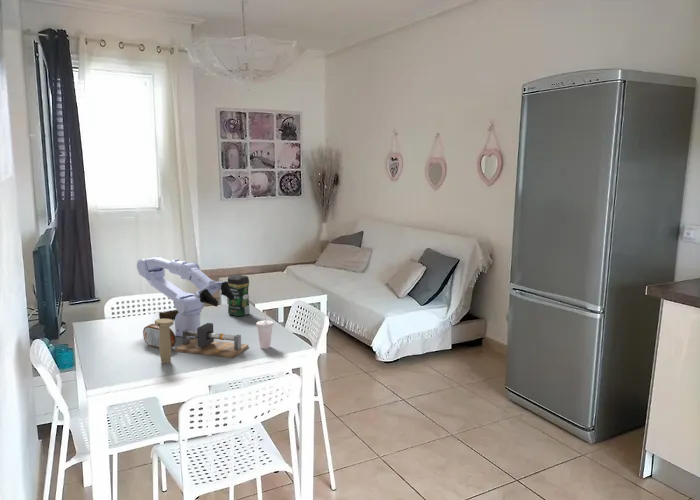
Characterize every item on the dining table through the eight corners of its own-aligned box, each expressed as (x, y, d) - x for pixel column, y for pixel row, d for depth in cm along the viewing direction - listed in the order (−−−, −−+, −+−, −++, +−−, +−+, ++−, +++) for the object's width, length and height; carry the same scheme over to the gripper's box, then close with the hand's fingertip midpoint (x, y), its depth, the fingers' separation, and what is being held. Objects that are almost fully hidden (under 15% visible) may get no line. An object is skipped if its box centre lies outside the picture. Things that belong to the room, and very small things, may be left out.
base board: (174, 351, 198) (174, 348, 198) (192, 341, 210) (192, 338, 209) (233, 357, 192) (232, 354, 191) (248, 347, 203) (248, 344, 203)
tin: (176, 349, 200) (175, 327, 199) (170, 352, 197) (169, 329, 196) (148, 342, 207) (147, 321, 206) (142, 345, 205) (140, 323, 203)
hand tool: (162, 322, 236) (162, 311, 235) (158, 320, 238) (158, 309, 238) (202, 314, 249) (201, 304, 248) (197, 312, 251) (197, 302, 251)
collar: (197, 347, 198) (197, 328, 197) (208, 341, 205) (207, 322, 204) (203, 347, 197) (202, 328, 196) (213, 341, 204) (213, 323, 203)
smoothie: (259, 350, 199) (259, 314, 197) (254, 345, 205) (253, 310, 202) (276, 348, 202) (275, 312, 200) (270, 343, 208) (269, 308, 205)
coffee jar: (225, 314, 247) (224, 275, 244) (237, 310, 254) (236, 272, 251) (241, 317, 242) (240, 277, 239) (252, 313, 249) (251, 274, 246)
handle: (164, 358, 190) (162, 317, 188) (178, 361, 187) (176, 320, 185) (153, 363, 186) (151, 321, 184) (167, 366, 183) (166, 323, 181)
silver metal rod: (183, 344, 202) (182, 330, 202) (186, 342, 205) (186, 328, 204) (238, 350, 196) (237, 336, 195) (241, 348, 198) (240, 334, 198)
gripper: (188, 279, 202) (210, 298, 196) (219, 268, 213) (241, 286, 207) (186, 294, 206) (208, 313, 199) (216, 283, 216) (238, 301, 210)
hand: (225, 301), depth 203 cm, fingers open, 7 cm apart
